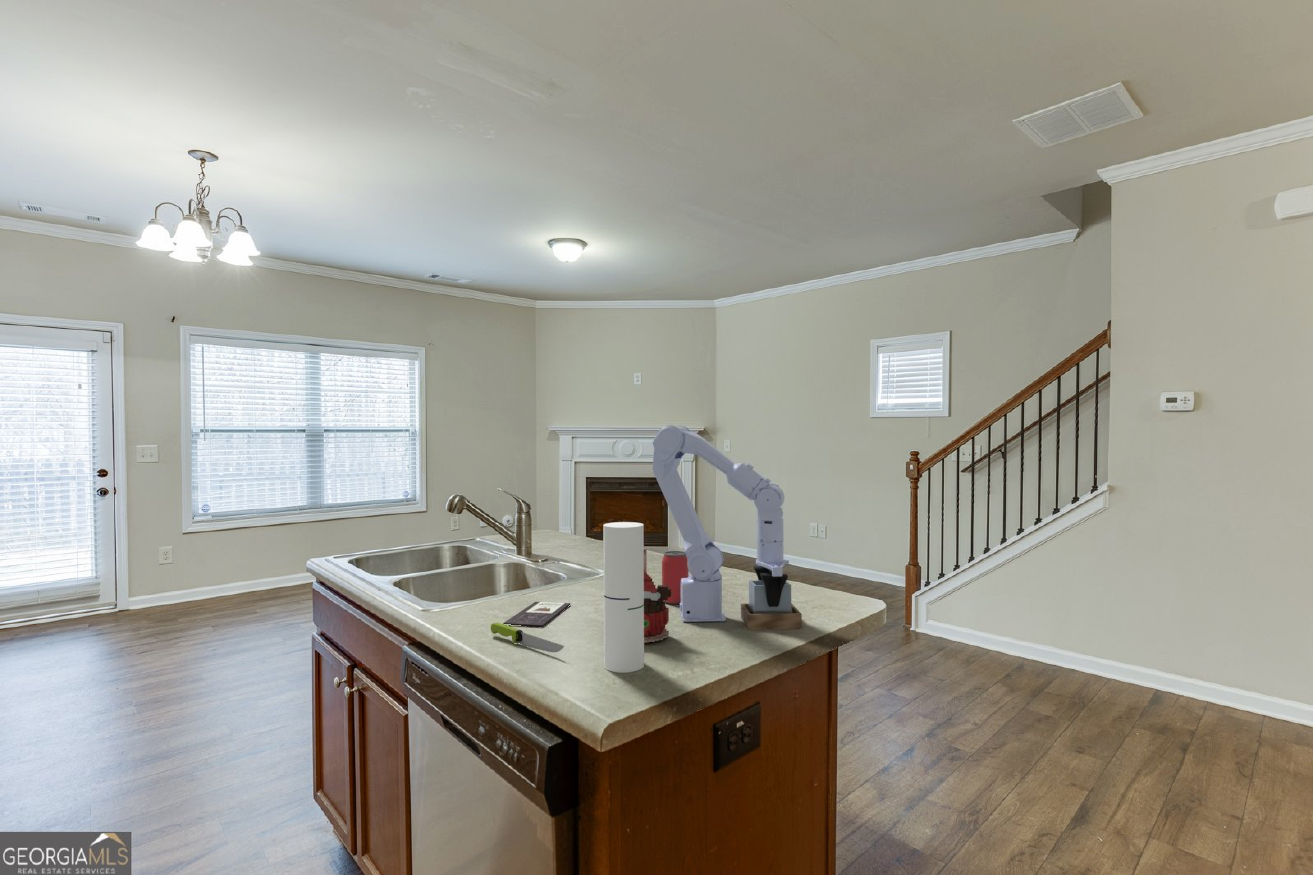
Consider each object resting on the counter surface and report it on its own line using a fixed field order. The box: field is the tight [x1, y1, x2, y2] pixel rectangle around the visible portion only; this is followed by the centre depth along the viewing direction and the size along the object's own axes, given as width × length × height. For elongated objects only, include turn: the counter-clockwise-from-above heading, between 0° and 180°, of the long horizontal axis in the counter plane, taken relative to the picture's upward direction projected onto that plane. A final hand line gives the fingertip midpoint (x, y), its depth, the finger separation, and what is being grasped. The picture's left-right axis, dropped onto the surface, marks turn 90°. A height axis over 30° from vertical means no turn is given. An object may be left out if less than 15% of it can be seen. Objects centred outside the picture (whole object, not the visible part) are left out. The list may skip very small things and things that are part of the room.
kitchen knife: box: [490, 622, 565, 653], centre depth 122 cm, size 22×1×3 cm, turn 49°
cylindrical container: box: [602, 521, 645, 674], centre depth 112 cm, size 7×7×25 cm
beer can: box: [661, 550, 690, 605], centre depth 156 cm, size 7×7×12 cm
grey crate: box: [748, 579, 792, 614], centre depth 137 cm, size 8×5×6 cm
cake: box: [644, 548, 671, 644], centre depth 127 cm, size 11×9×18 cm
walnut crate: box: [740, 602, 803, 631], centre depth 137 cm, size 11×9×4 cm
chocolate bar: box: [502, 601, 571, 628], centre depth 144 cm, size 9×1×18 cm
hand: (770, 602), depth 137 cm, fingers closed on grey crate, 5 cm apart
